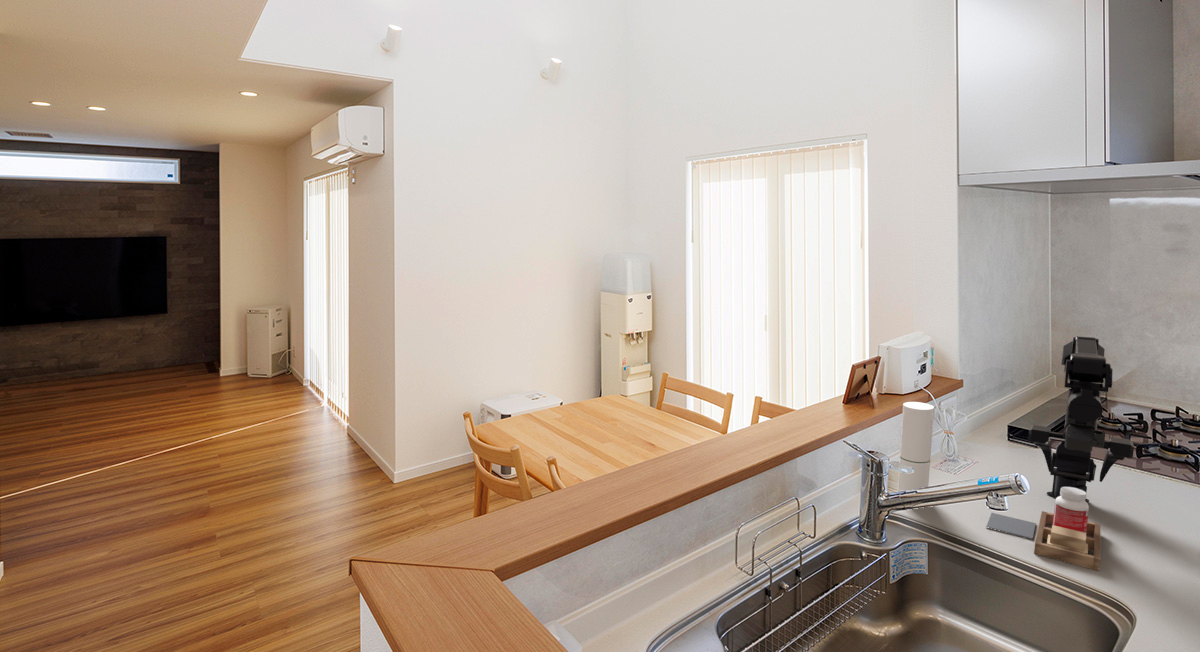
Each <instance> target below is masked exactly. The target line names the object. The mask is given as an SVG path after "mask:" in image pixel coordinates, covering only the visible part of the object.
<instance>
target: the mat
mask: <svg viewBox="0 0 1200 652" xmlns="http://www.w3.org/2000/svg"><path fill="white" fill-rule="evenodd" d="M1036 524H1037V523H1036V522H1033V521H1028V520H1025V519H1020V518H1015V517H1013V516H1007V515H1004V514H999V513H994V512H991V513H990V516H989V518H988V521H987V523H986V526H985V528H986V527H989V528H992V529H996V530H1000V531H1003V532H1007V533H1010V534H1009V535H1011V534H1014V535H1013V536H1015V535H1017V536H1016V537H1019V536H1020V538H1023V537H1025V538H1024V539H1027V538H1028V539H1027V540H1031V539H1032V540H1033V539H1034V534H1035V530H1036V526H1037V525H1036ZM1003 532H1002V533H1003ZM1007 533H1006V534H1007Z"/></svg>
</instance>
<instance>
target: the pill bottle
mask: <svg viewBox="0 0 1200 652" xmlns="http://www.w3.org/2000/svg"><path fill="white" fill-rule="evenodd" d="M1060 495H1061V496H1059V497H1057V498H1055V499H1054V508H1053V514H1054V517H1053V525H1054V526H1059V527H1063V528H1067V529H1071V530H1076V531H1080V532H1084V533H1086V530H1087V522H1089V514H1090V513H1089V512H1090V511H1089V510H1090V505H1089V502H1086V501H1084V500H1085V499H1087V492H1085V491H1083V490H1080V489H1077V488H1073V487H1062V488H1061V490H1060ZM1086 534H1087V533H1086Z"/></svg>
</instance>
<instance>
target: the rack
mask: <svg viewBox="0 0 1200 652" xmlns="http://www.w3.org/2000/svg"><path fill="white" fill-rule="evenodd" d="M1053 517H1054V512H1053V513H1052V512H1048V511H1044V510H1042V511H1041V514H1040V518H1039V519H1040V520H1039V523H1038V524H1039V525H1038V528H1037V532H1036V537H1035V542H1034V551H1033V554H1034V555H1037V554H1038V556H1041V555H1042V557H1045V556H1046V557H1045V558H1048V557H1049V559H1052V558H1054V559H1053V560H1056V559H1058V560H1057V561H1060V560H1061V562H1064V561H1065V562H1064V563H1067V562H1069V563H1068V564H1072V565H1075V566H1079V567H1083V568H1087V569H1091V570H1093V571H1098V572H1099V571H1100V565H1101V564H1100V563H1101V534H1102V533H1101V527H1102V525H1101V523H1097V522H1092V521H1088V522H1087V530H1086V534H1089V535H1091V536H1093V537H1090V536H1086V544H1088V551H1091V552H1092V554H1084V553H1080V552H1076V551H1072V550H1068V549H1064V548H1060V547H1056V546H1052V545H1048V544H1047V543H1044V542H1043V539H1044V540H1047V539H1048V534H1049V535H1051V529H1052V527H1048V526H1047V525H1051V526H1052V525H1053ZM1046 524H1047V525H1046Z"/></svg>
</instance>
